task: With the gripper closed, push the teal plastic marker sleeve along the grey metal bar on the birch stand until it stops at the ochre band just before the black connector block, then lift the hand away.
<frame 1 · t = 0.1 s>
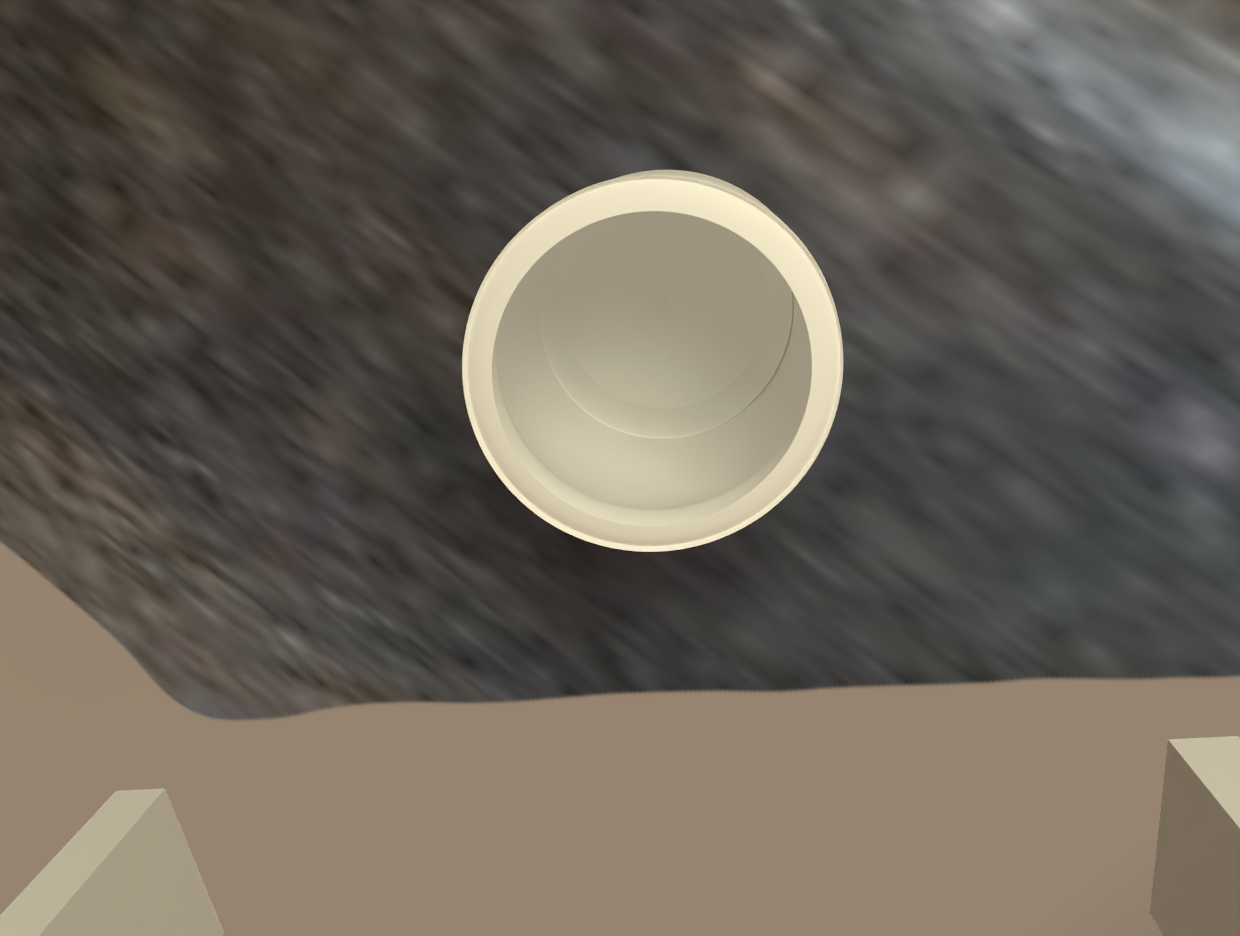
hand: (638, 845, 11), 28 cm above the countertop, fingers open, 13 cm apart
jar: (669, 294, 36), on the countertop
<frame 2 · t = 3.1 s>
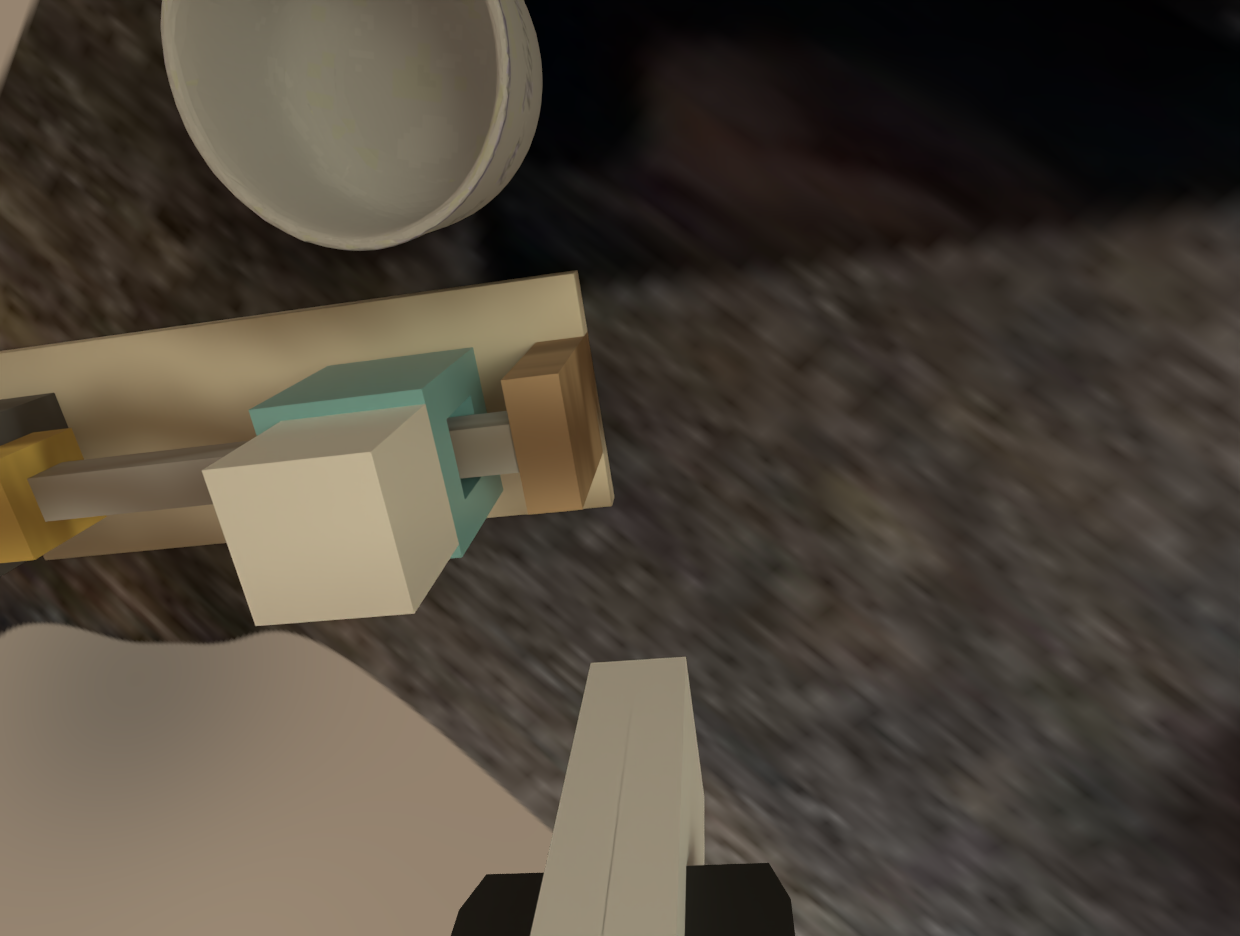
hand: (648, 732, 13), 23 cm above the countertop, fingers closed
rail: (292, 424, 37), on the countertop
sleeve: (366, 476, 28), point 8 cm above the countertop, slide at 0.0 cm
teacup: (435, 41, 31), on the countertop
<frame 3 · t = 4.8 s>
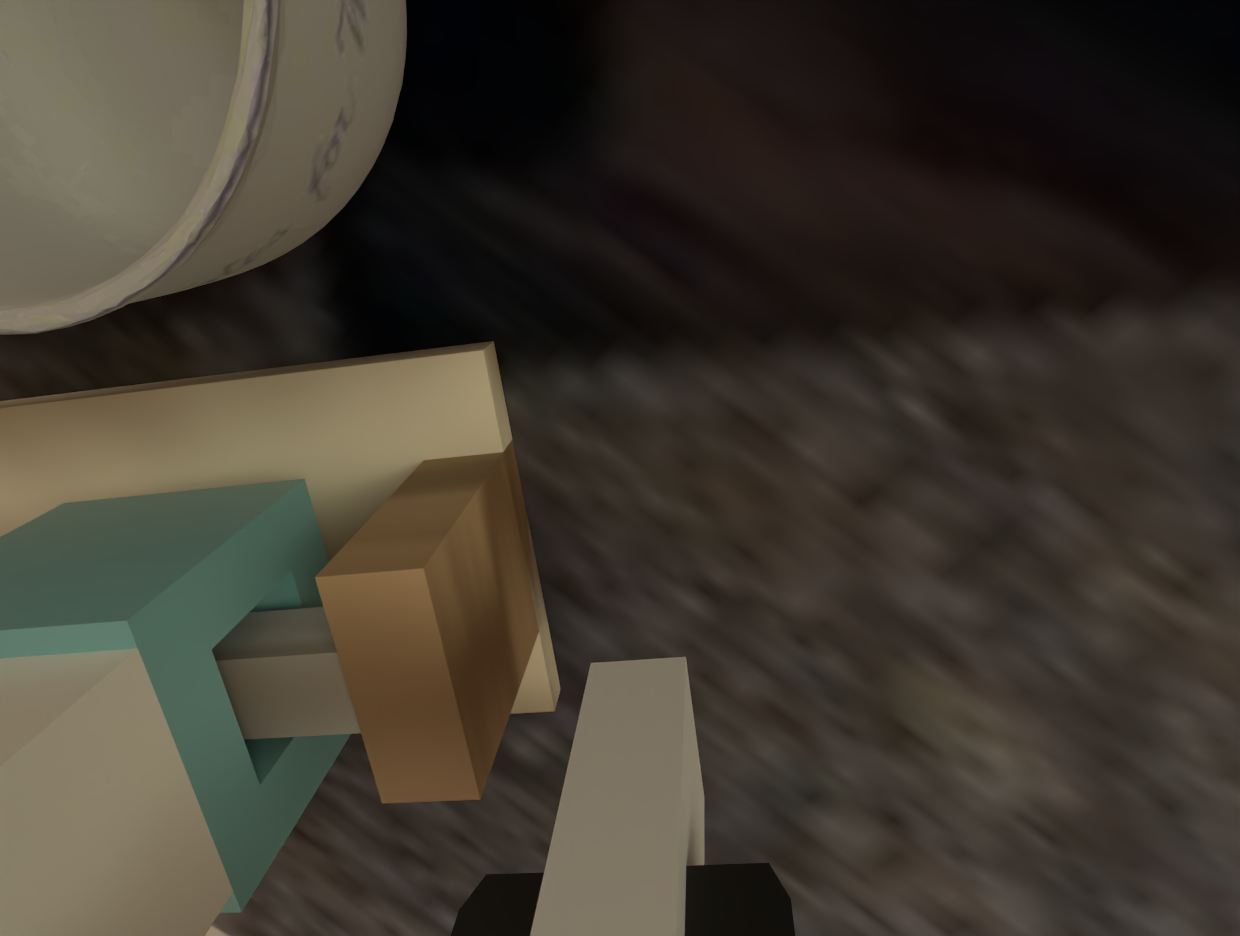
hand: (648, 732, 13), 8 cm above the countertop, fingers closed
rail: (54, 570, 23), on the countertop
sleeve: (60, 755, 15), point 8 cm above the countertop, slide at 0.0 cm
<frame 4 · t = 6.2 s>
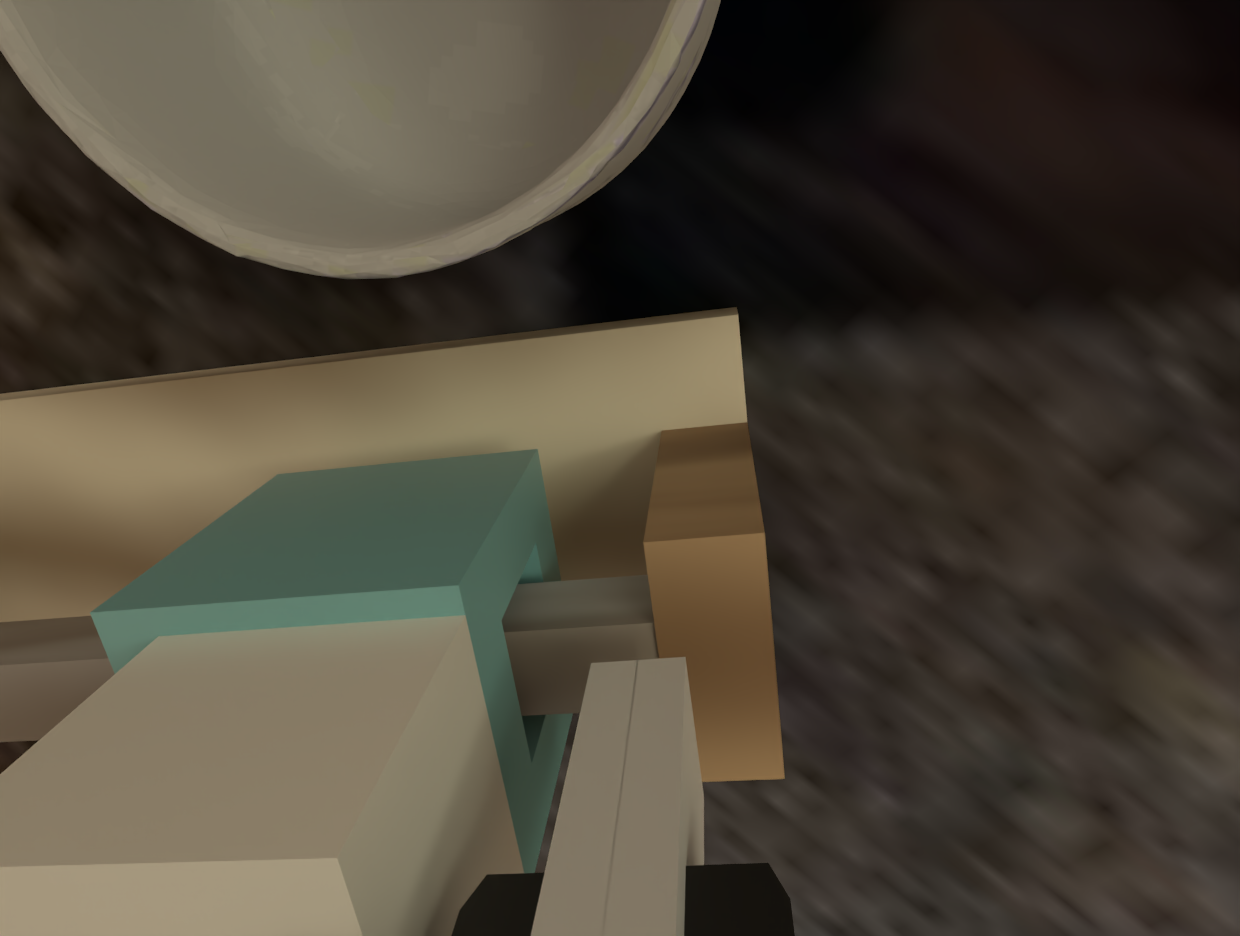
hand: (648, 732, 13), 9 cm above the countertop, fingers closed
rail: (243, 547, 23), on the countertop
sleeve: (338, 730, 14), point 8 cm above the countertop, slide at 0.5 cm, touching gripper
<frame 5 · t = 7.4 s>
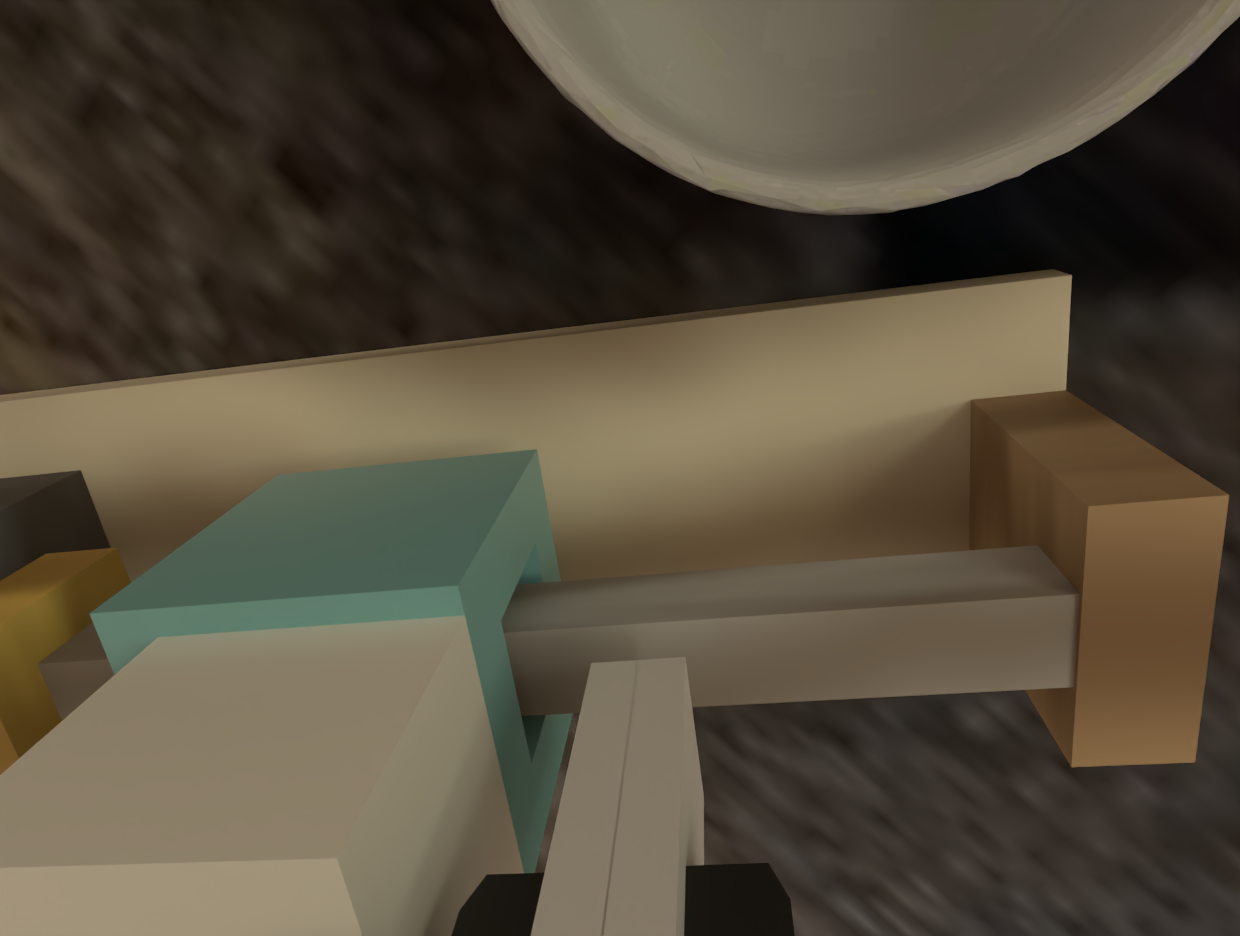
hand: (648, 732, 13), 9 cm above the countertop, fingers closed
rail: (485, 527, 22), on the countertop
sleeve: (338, 730, 14), point 8 cm above the countertop, slide at 7.5 cm, touching gripper
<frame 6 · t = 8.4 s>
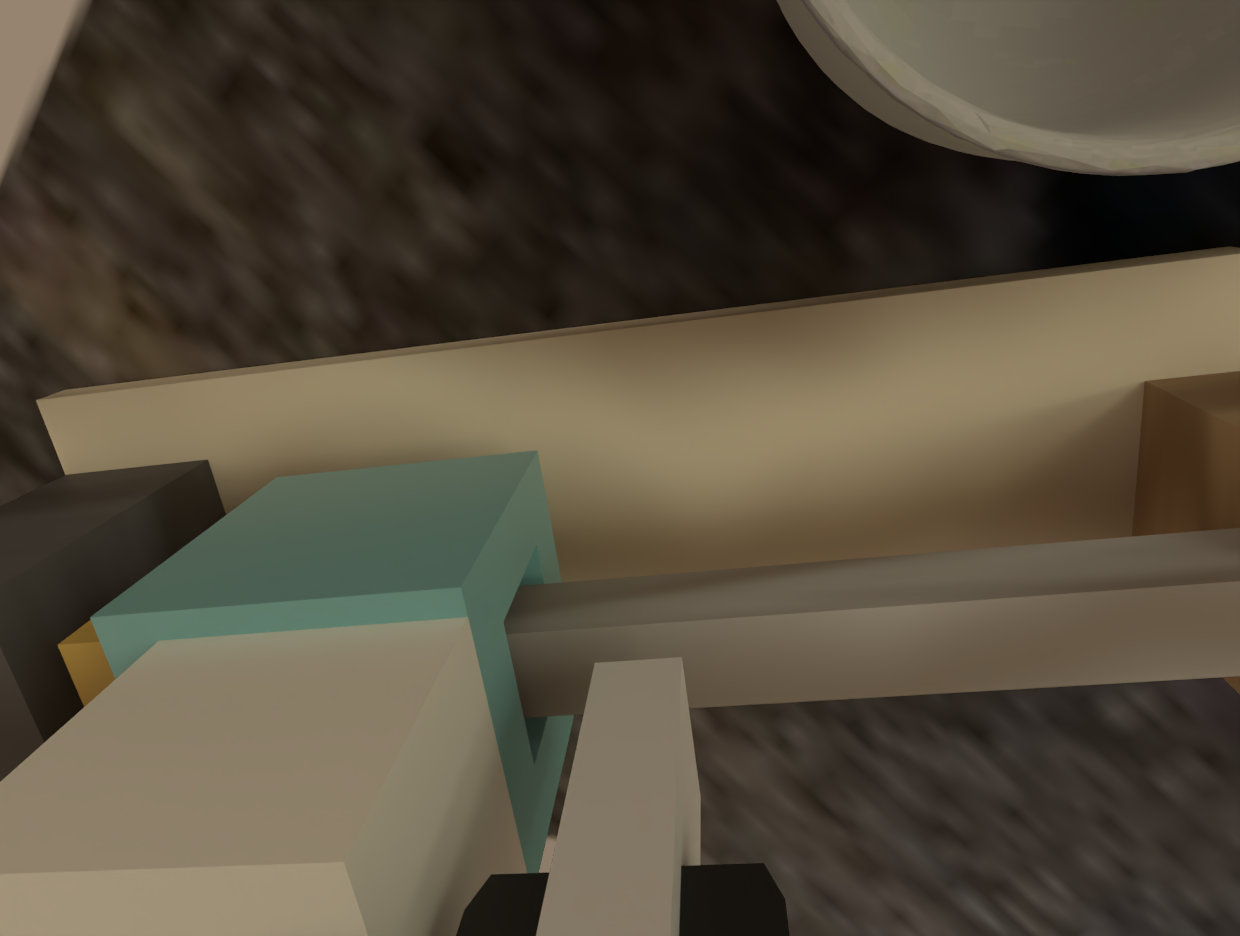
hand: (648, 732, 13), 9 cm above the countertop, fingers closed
rail: (620, 516, 21), on the countertop
sleeve: (340, 733, 14), point 8 cm above the countertop, slide at 11.1 cm, touching gripper, rail
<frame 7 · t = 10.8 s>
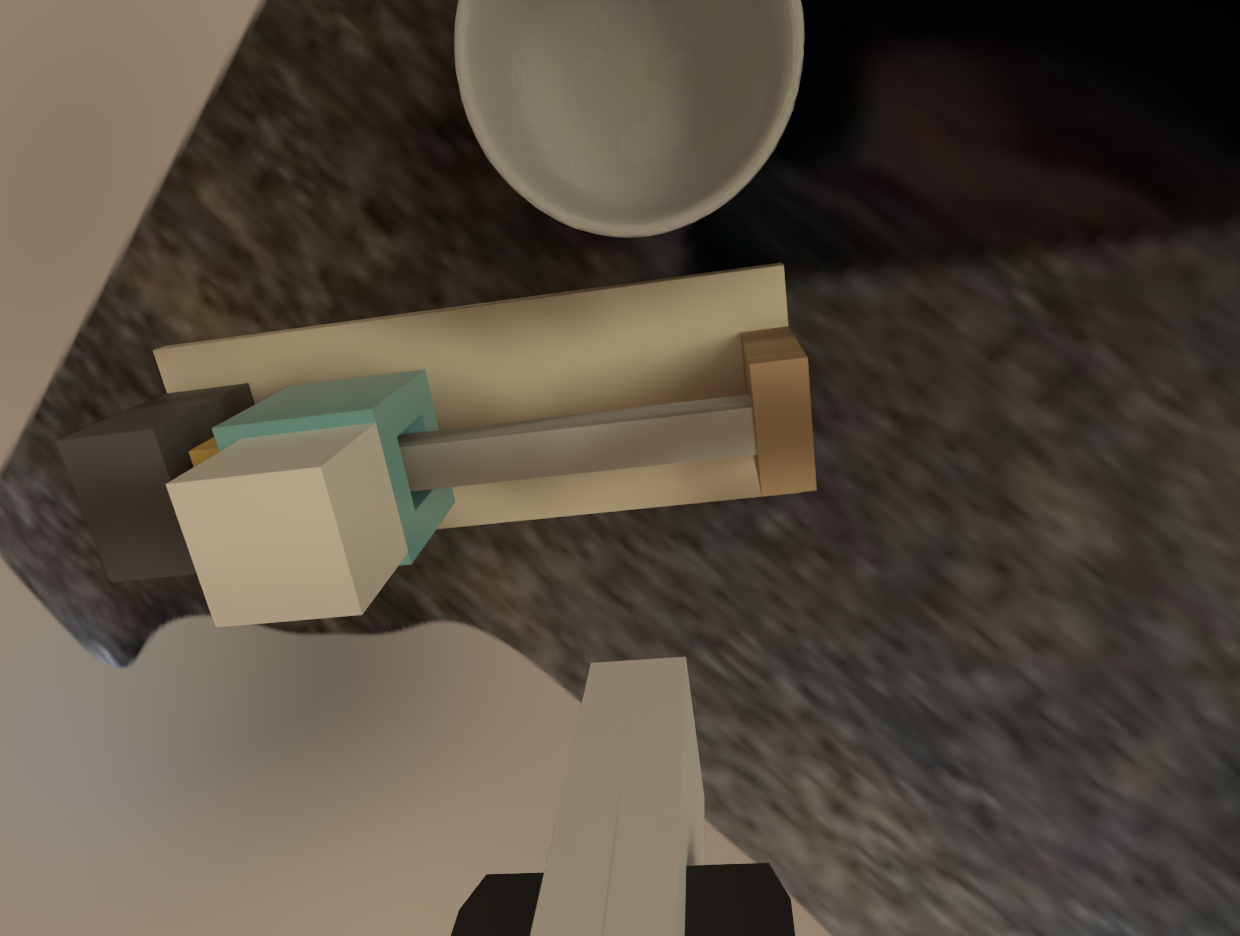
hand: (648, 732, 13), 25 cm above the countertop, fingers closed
rail: (481, 415, 37), on the countertop
sleeve: (322, 490, 30), point 8 cm above the countertop, slide at 11.0 cm
teacup: (659, 41, 32), on the countertop
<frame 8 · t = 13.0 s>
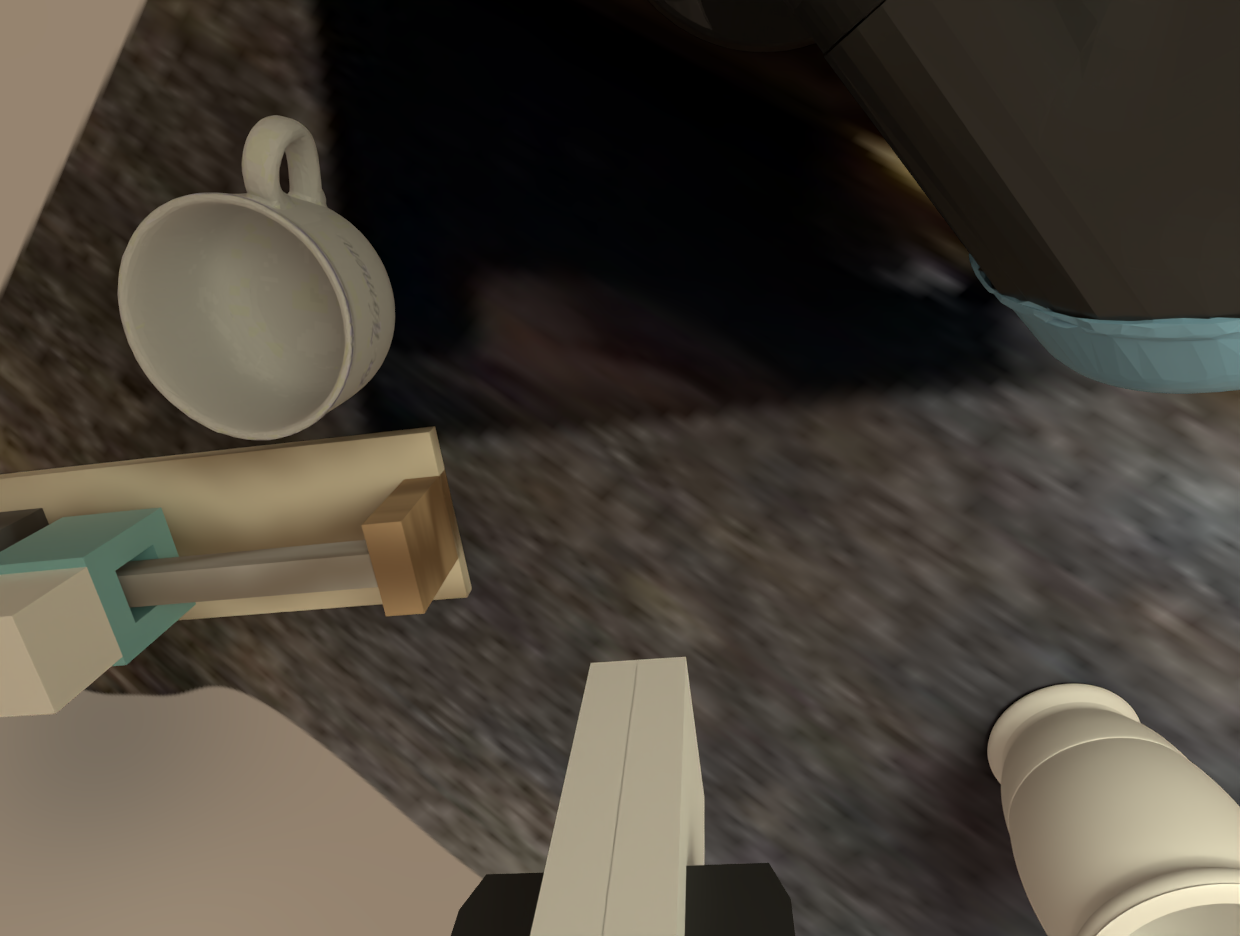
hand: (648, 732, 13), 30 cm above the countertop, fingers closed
jar: (1059, 738, 48), on the countertop
rail: (225, 532, 48), on the countertop
sleeve: (61, 609, 41), point 8 cm above the countertop, slide at 11.0 cm
teacup: (324, 267, 42), on the countertop
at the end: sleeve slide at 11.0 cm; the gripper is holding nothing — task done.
